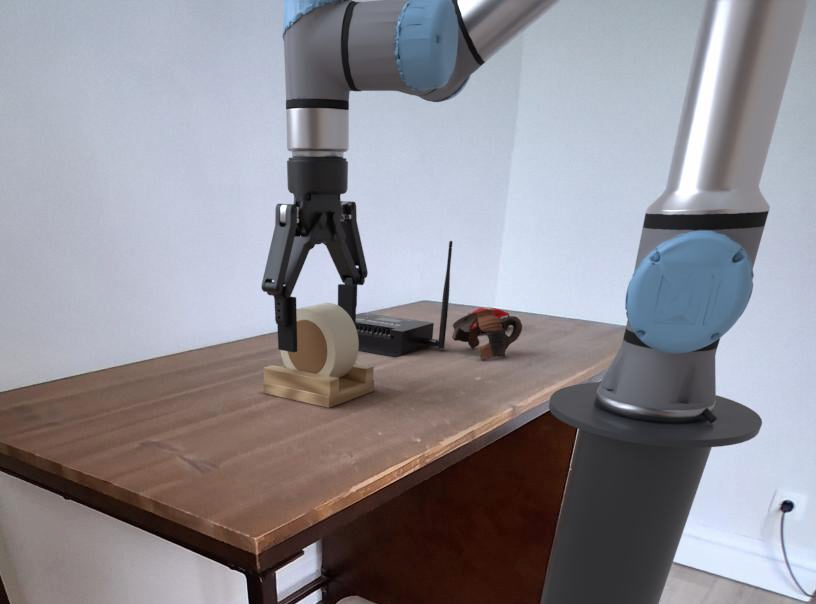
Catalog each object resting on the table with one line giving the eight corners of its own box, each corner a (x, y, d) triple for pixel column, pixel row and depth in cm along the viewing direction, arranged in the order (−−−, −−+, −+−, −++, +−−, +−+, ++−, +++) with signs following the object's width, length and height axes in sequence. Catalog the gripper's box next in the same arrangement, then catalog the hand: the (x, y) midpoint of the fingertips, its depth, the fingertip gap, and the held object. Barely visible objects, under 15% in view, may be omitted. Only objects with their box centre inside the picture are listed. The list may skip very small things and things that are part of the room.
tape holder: (373, 390, 98) (374, 366, 96) (329, 408, 91) (329, 381, 89) (310, 378, 104) (309, 354, 102) (263, 393, 97) (262, 367, 95)
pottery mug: (467, 365, 114) (454, 316, 112) (455, 378, 123) (443, 332, 122) (534, 343, 114) (522, 294, 112) (517, 358, 123) (506, 312, 122)
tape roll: (358, 383, 96) (360, 306, 90) (335, 391, 93) (335, 312, 87) (304, 372, 101) (302, 299, 95) (280, 379, 97) (277, 304, 92)
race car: (470, 337, 131) (472, 314, 129) (450, 332, 134) (452, 310, 132) (513, 328, 138) (516, 307, 135) (493, 324, 141) (495, 303, 139)
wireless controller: (324, 344, 124) (323, 237, 114) (367, 332, 133) (371, 232, 123) (414, 360, 114) (423, 244, 104) (455, 346, 123) (466, 239, 113)
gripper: (351, 157, 91) (348, 325, 104) (223, 153, 75) (237, 353, 87) (397, 157, 88) (388, 332, 100) (274, 152, 71) (281, 362, 84)
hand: (318, 342), depth 94 cm, fingers open, 13 cm apart
